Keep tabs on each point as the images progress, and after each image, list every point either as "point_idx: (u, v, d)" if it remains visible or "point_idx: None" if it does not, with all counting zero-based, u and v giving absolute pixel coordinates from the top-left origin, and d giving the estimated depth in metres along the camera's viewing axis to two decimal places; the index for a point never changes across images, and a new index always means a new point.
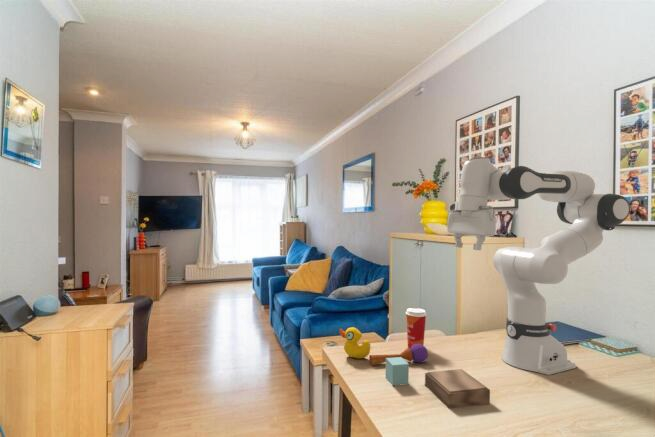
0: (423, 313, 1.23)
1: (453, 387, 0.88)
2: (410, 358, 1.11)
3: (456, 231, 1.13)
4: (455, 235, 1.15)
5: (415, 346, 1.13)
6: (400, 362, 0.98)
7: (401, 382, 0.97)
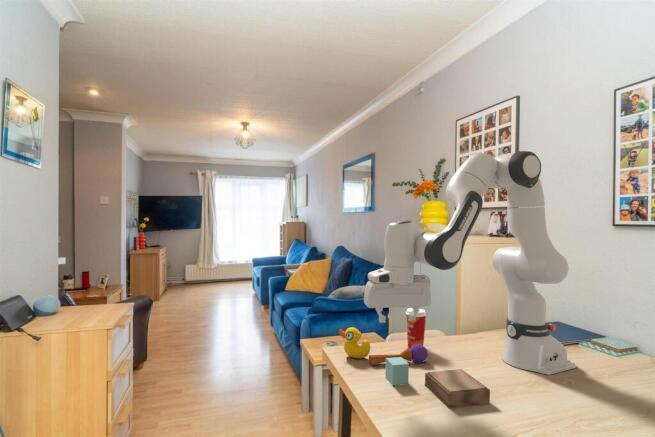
0: (423, 313, 1.23)
1: (453, 387, 0.88)
2: (410, 358, 1.11)
3: (386, 305, 0.97)
4: (380, 309, 0.97)
5: (415, 346, 1.13)
6: (400, 362, 0.98)
7: (401, 382, 0.97)
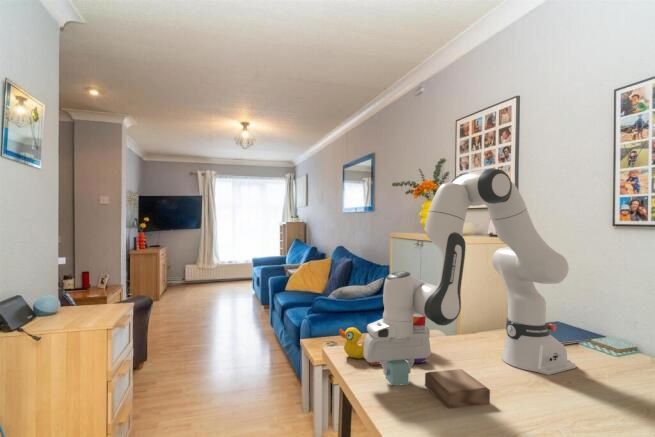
0: None
1: (453, 387, 0.88)
2: None
3: (385, 359, 0.97)
4: (384, 363, 0.97)
5: None
6: (400, 362, 0.98)
7: (401, 382, 0.97)
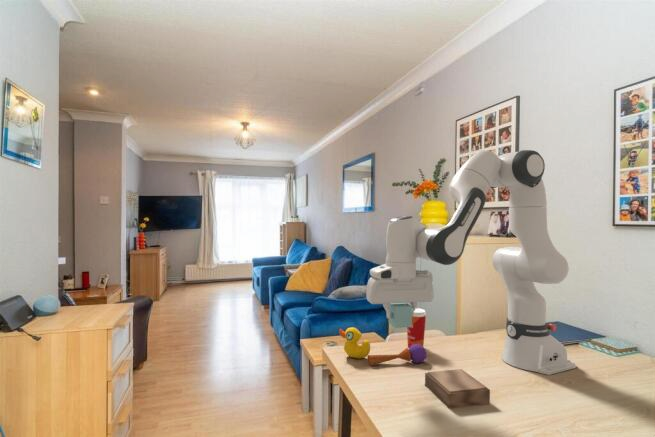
0: (423, 313, 1.23)
1: (453, 387, 0.88)
2: (408, 358, 1.11)
3: (388, 301, 0.97)
4: (388, 305, 0.97)
5: (414, 346, 1.13)
6: (403, 305, 0.98)
7: (404, 324, 0.97)
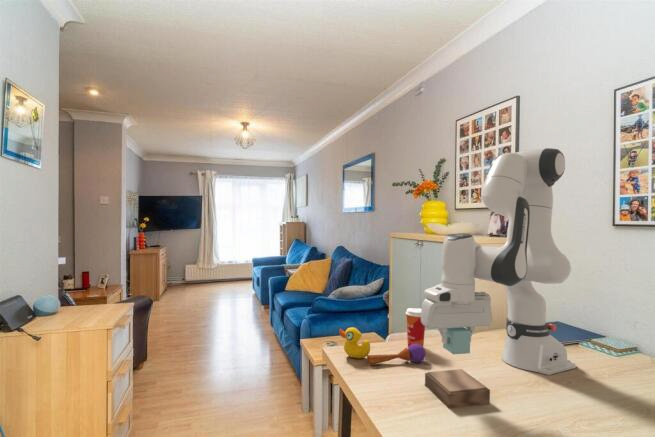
0: None
1: (453, 387, 0.88)
2: (408, 358, 1.11)
3: (446, 326, 0.90)
4: (444, 330, 0.90)
5: (413, 346, 1.13)
6: (460, 330, 0.91)
7: (462, 350, 0.90)
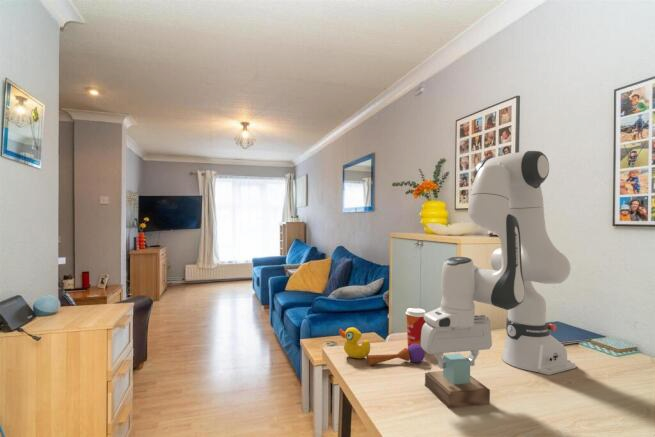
0: (423, 313, 1.23)
1: (453, 387, 0.88)
2: (407, 358, 1.11)
3: (446, 350, 0.90)
4: (440, 355, 0.90)
5: (413, 346, 1.13)
6: (460, 359, 0.91)
7: (462, 380, 0.90)
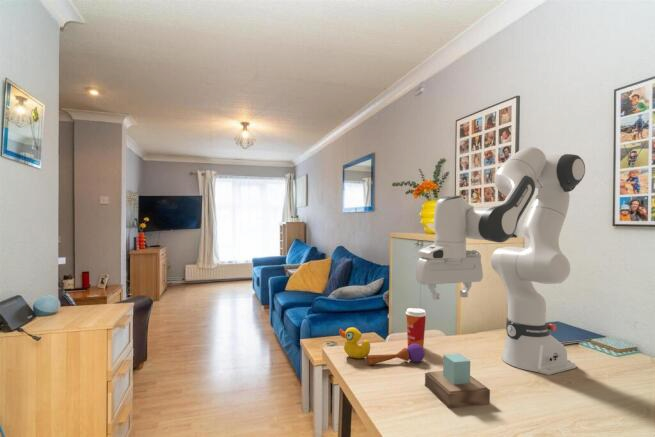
0: (423, 313, 1.23)
1: (453, 387, 0.88)
2: (407, 358, 1.11)
3: (440, 282, 0.96)
4: (434, 286, 0.96)
5: (412, 345, 1.13)
6: (460, 359, 0.91)
7: (462, 380, 0.90)
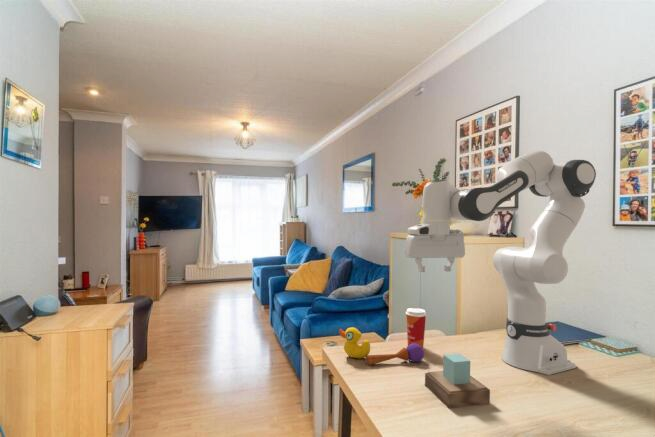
0: (423, 313, 1.23)
1: (453, 387, 0.88)
2: (406, 358, 1.11)
3: (425, 256, 1.07)
4: (420, 260, 1.07)
5: (411, 345, 1.13)
6: (460, 359, 0.91)
7: (462, 380, 0.90)
